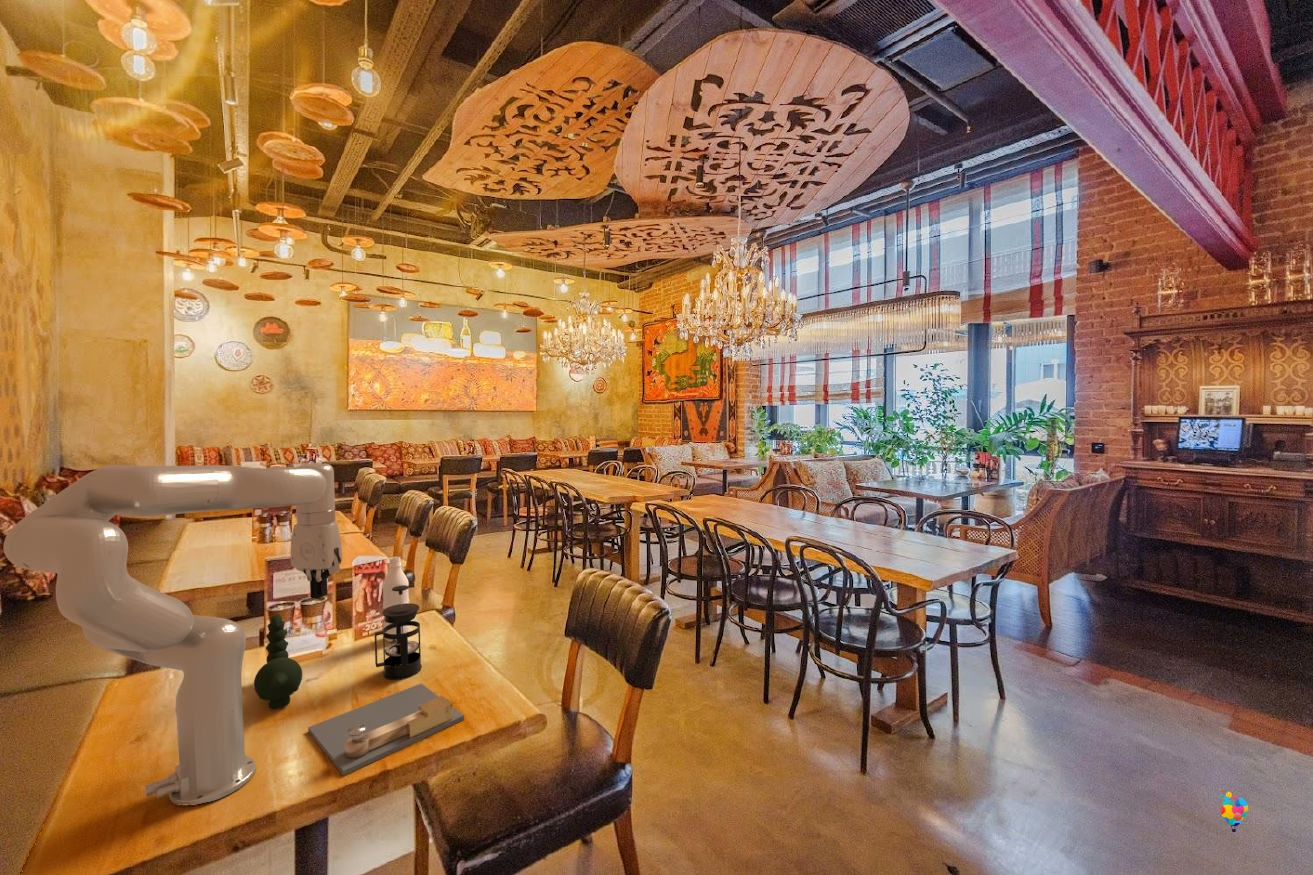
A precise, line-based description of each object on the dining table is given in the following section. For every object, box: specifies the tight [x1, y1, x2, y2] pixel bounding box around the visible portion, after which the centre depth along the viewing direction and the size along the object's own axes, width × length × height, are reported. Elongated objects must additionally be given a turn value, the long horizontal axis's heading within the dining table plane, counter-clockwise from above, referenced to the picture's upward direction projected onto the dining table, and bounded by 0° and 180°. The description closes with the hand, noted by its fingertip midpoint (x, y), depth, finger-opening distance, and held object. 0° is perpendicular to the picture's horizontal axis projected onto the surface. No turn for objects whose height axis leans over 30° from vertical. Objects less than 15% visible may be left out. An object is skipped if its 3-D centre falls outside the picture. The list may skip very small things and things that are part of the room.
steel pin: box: [348, 724, 366, 743], centre depth 110 cm, size 3×3×2 cm
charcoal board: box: [307, 683, 465, 777], centre depth 121 cm, size 25×21×1 cm
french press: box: [374, 585, 423, 681], centre depth 145 cm, size 12×9×23 cm
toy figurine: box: [253, 614, 303, 710], centre depth 133 cm, size 9×19×25 cm
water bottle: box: [382, 556, 411, 643], centre depth 164 cm, size 7×7×25 cm
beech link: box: [345, 711, 425, 758], centre depth 115 cm, size 18×4×2 cm, turn 137°
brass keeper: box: [407, 695, 453, 739], centre depth 120 cm, size 10×4×4 cm, turn 138°
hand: (319, 596), depth 125 cm, fingers closed
